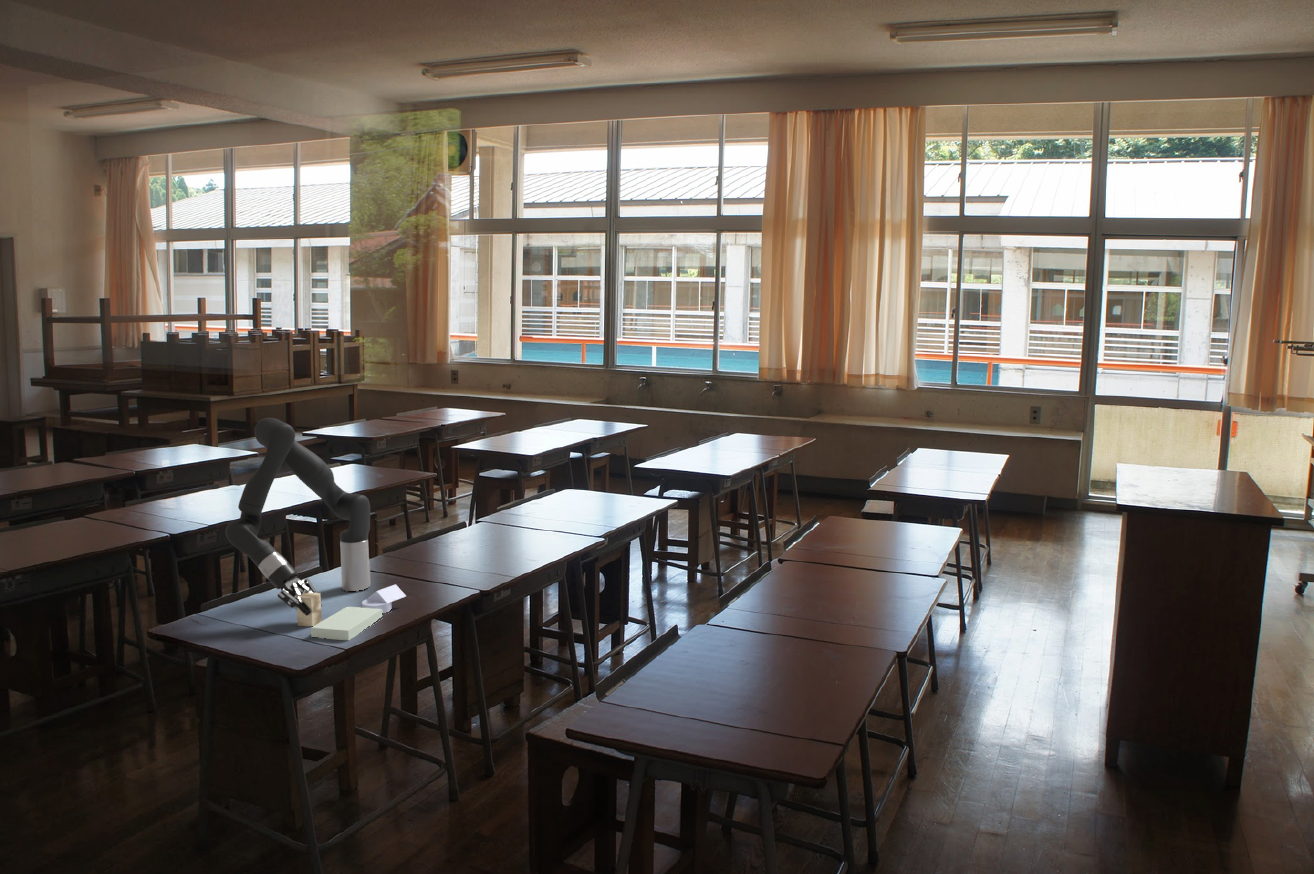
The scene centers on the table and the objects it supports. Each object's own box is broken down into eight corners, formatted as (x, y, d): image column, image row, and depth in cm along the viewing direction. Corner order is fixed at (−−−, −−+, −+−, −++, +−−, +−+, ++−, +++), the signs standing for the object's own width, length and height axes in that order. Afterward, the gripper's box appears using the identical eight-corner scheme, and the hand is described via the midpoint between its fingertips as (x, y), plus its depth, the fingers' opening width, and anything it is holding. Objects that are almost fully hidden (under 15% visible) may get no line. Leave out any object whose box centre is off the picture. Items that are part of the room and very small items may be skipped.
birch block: (307, 620, 281) (305, 592, 280) (321, 621, 280) (320, 593, 279) (297, 625, 276) (296, 596, 275) (312, 626, 275) (311, 598, 274)
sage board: (347, 615, 286) (347, 606, 285) (382, 618, 283) (382, 609, 283) (311, 637, 266) (311, 627, 266) (348, 640, 264) (348, 630, 263)
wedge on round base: (386, 602, 300) (356, 613, 288) (385, 582, 299) (355, 592, 287) (406, 606, 296) (377, 617, 284) (406, 586, 295) (376, 596, 283)
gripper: (270, 568, 270) (308, 610, 270) (298, 556, 284) (335, 595, 284) (255, 584, 272) (293, 626, 271) (284, 571, 286) (320, 611, 285)
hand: (314, 610), depth 277 cm, fingers closed on birch block, 5 cm apart
